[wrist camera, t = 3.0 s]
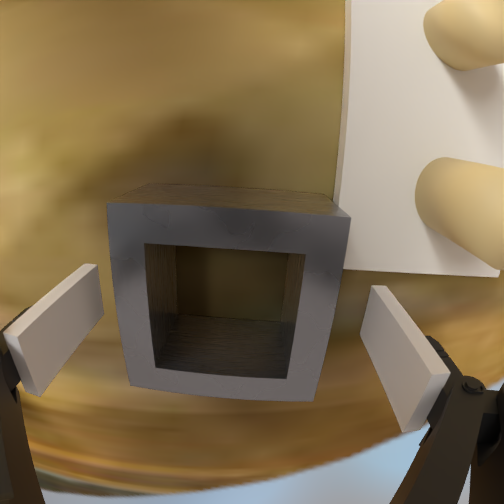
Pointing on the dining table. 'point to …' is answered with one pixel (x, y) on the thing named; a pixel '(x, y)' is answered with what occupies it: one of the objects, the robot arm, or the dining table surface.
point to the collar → (225, 329)
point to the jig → (423, 136)
